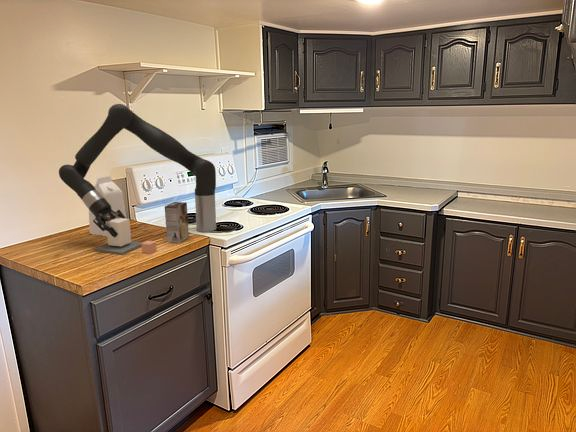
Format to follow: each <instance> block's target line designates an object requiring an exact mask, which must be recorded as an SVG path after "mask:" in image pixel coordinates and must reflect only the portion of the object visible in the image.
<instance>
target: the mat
mask: <svg viewBox="0 0 576 432" xmlns="http://www.w3.org/2000/svg"><path fill="white" fill-rule="evenodd" d="M144 242H145V241H136V240H131V243H128V244H126V245H124V246H121V247H120V246H113V245H108V242H107V243H105V244H102V245H100V246H98V247H95V248H94V252H99V253H106V254H113V255H120V256H124V255H126V254H128V253H130V252H133V251H135V250H137V249H140V248H142V245H141V243H144Z"/></svg>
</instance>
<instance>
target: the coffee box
mask: <svg viewBox="0 0 576 432" xmlns="http://www.w3.org/2000/svg"><path fill="white" fill-rule="evenodd" d="M164 217H165V231H166V242H167V243H179V244H181V243H182V242H183V241H185V240H186V239H188V238H189V237H190V235H189V219H188V218H189V217H188V203H187V202H186V201H185V202H183V201H173V202H171V203H169V204H167V205H165V206H164Z"/></svg>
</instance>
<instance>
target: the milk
mask: <svg viewBox="0 0 576 432" xmlns="http://www.w3.org/2000/svg"><path fill="white" fill-rule="evenodd" d="M96 178H97V179H96V181H95V182H96V183H95V185H93V186H94V187H95V189H96V190H97V191H98V192H99V193H100V194H101V195H102V196H103V197H104V198H105V199H106V201H107V202H108V203H109V204H110V205H111V209H112V210H113V211H114V212H116V211H118V210H120V211H121V212H122V214H123V215H124V216H125V218H126V219H127V213H126V207H125V198H124V193H123V191H122V190H121V188H120V187H119V186H118V185H117V184H116V183H114V181H113V180H112V178H111V176H110V175H104V176H98V177H96ZM95 218H96V217H95V216H94V215H93V213H92V212H91V211H90V210H89V209H88V222H89V225H88V226H89V234H90V233H91V235H95V234H96V235H95V236H101V235H102V237H107V231H106V230H104V231H102V230H101V229H100V228H99V227H98V226H97V225H96V224H95V223H94V222H93V220H94V219H95ZM101 226H102V225H101ZM102 227H103V226H102Z"/></svg>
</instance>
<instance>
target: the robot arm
mask: <svg viewBox="0 0 576 432" xmlns="http://www.w3.org/2000/svg"><path fill="white" fill-rule="evenodd" d="M123 129H124V130H127V131H128V132H129V133H131V134H133V135H134V136H136V137H137V138H139V139H140V140H141V141H142V142H143V143H144V144H146V145H147V146H148V147H149V148H150V149H151V150H153V151H154V152H156V153H158V154H160V155H161V156H163V157H165V158H166V159H168V160H171V161H172V162H175V163H177V164H179V165H180V166H182V167H184V168H185V169H186V170H187V171H189V172H190V173H191V174H193V176H195V188H194V202H195V206H194V207H195V223H196V227H195V228H196V231H197V232H200V233H209V232H215V231H216V230H217V217H216V216H217V215H216V214H217V213H216V212H217V211H216V187H217V181H216V179H217V177H216V176H217V173H216V167H215V164H214V163H213V162H212V161H209V160H207V159H204V158H202V157H200V156H198V155H197V154H195V153H193V152H191V151H190V150H189V149H187V147H185V146H184V145H183V144H182V143H181V142H180V141H178V140H177V139H176V138H174V137H173V136H171V135H170V134H168V133H167V132H165V131H163V130H162V129H160V128H159V127H157V126H155V125H153V124H151V123H149V122H147V121H146V120H144V119H143V118H141V117H140V116H139V115H137V114H136V113H134V111H132V110H131V109H130V108H129V107H128V106H126V105H125V104H122V103H115V104H113V105H112V106H110V107H109V110H108V112H107V117H106V118H105V119H104V121H103V123H102V125H101V126H100V127H99V128H98V130H97V131H96V132H95V133H94V134H93V135H92V136H91V137H90V138H88V140H87V141H86V142H84V144H83V145H82V147H80V149H79V150H78V151H77V153H76V154H75V155H74V158H75V160H76V161H74V164H73V165H72V164H63V165H61V166H60V168H59V169H58V175H59V178H60V180H61V181H62V182H63V183H64V184H65V185H66V186H67V187H69V188H70V189H71V190H72V191H73V192H75V194H76V195H77V196H78V197H79V199H80V200H81V201H82V202H83V204H84V205H85V207H86V208H87V209H88V211H89V210H90V211H91V212H92V213H93V215H94V216H95V217H96V218H95V219H94V220H93V222H94V223H95V224H96V225H97V226H98V227H99V228H100V229H101V230H102V231H104V230H106V231H108V232H109V233H110V234H111V235H112V236H113V237H116V236H117V235H118V233H117V232H116V231H115V230H114V229H113V227H112V228H111V225H110V224H109V222H110V221H111V220H113V219H116V218H125V216H124V215H123V214H122V212H121V211H120V210H118V211H116V212H114V211H113V210H112V209H111V205H110V204H109V203H108V202H107V201H106V199H105V198H104V197H103V196H102V195H101V194H100V193H99V192H98V191H97V190H96V189H95V187H94V186H95V185H93V184H92V183H91V182H90V181H89V180H87V179H85V177H86V175H87V173H88V172H89V170H90V168H91V165H92V164H94V162H95V161H96V160H97V158H98V157H100V155H101V153H102V152H103V151H104V150H105V148H106V147H107V145H108V144H109V143H110V142H111V141H112V140H113V139H114V138H115V137H116V136H117V135H118V134H119V133H120V132H121V131H123ZM125 219H127V217H126V218H125ZM106 221H107V222H106ZM101 225H102V226H103V227H102V226H101ZM107 225H108V226H107ZM214 230H215V231H214Z"/></svg>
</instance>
